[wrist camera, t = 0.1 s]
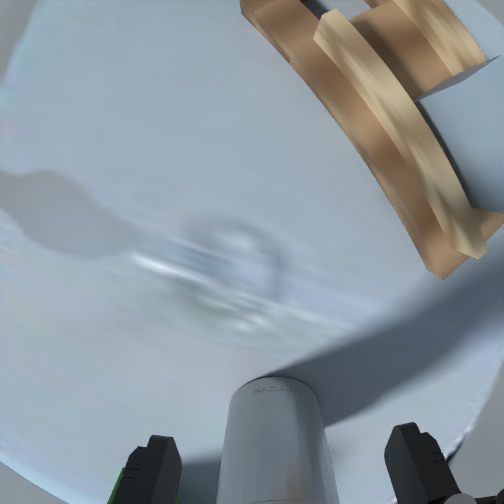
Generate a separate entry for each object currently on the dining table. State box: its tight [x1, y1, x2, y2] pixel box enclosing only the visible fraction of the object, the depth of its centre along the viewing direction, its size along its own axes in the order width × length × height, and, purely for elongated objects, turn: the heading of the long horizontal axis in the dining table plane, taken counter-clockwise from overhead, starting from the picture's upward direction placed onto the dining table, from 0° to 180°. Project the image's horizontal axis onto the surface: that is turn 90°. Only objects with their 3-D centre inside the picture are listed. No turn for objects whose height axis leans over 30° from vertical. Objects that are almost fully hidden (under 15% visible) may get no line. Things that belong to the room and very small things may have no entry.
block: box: [413, 55, 504, 214], centre depth 16 cm, size 9×5×8 cm, turn 37°
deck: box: [240, 0, 504, 280], centre depth 19 cm, size 28×14×7 cm, turn 37°
